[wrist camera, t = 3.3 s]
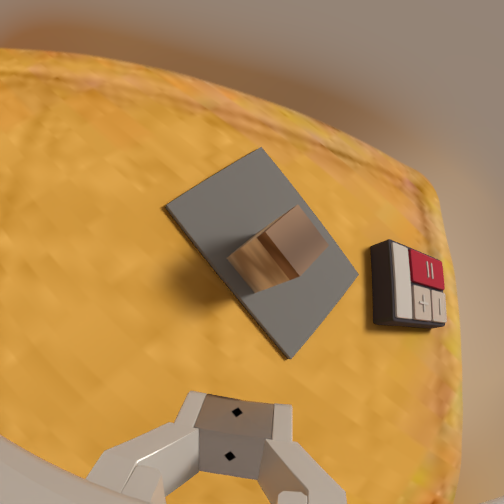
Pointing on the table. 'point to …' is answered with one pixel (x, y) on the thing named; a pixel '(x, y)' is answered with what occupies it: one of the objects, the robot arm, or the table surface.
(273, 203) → the mat
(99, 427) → the table surface
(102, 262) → the table surface
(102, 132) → the table surface
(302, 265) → the block
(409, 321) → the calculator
